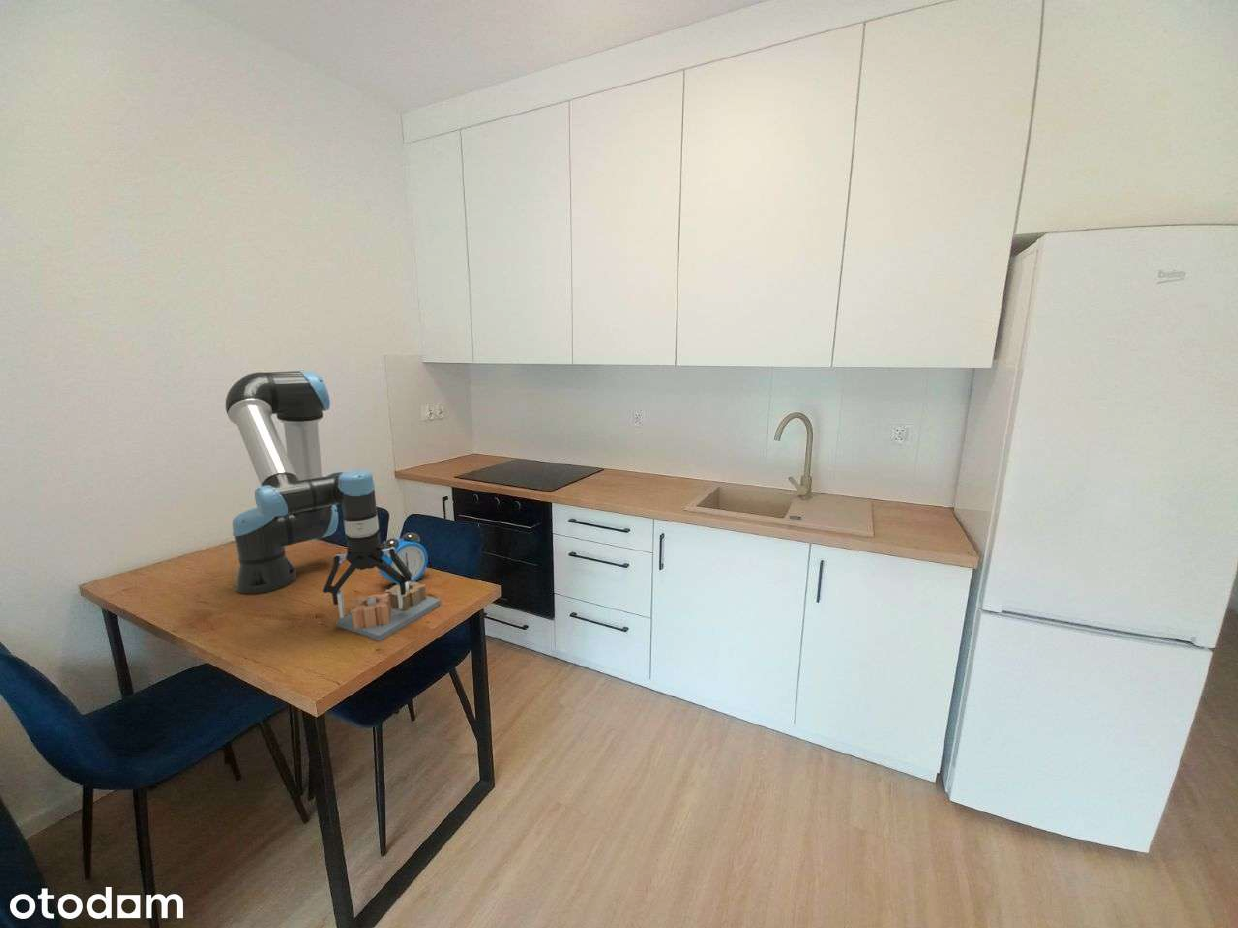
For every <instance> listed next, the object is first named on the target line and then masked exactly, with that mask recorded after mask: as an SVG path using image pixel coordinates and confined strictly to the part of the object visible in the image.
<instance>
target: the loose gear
mask: <svg viewBox="0 0 1238 928" xmlns="http://www.w3.org/2000/svg"><path fill="white" fill-rule="evenodd" d="M370 598H375V599H376V604H374V605H370V606H367V600H368V599H370ZM391 611H392V610H391V601H390V594H388V593H385V592H384V593H381V594H377V593H376V594H371V595H367V596H358V597H357V598H355V601H354V603H353V605H352V609H351V610H350V612H351V613H352V618H353V626H354V629H357V630H358V629H360V628H364V627H366V628H370V627H376V626H377V625H381V624H382V625H386V624H388V623H389V619H390V615H391V613H390V612H391Z"/></svg>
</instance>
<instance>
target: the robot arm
mask: <svg viewBox="0 0 1238 928" xmlns="http://www.w3.org/2000/svg"><path fill="white" fill-rule="evenodd" d="M330 403H331V402H330V395H329V393H328V389H327V386H326V384H325V382H324V380H323V378H322V377H321V376H320V375H319V374H318V373H317V372H315V371H301V370H299V371H275V372H273V371H272V372H270V371H269V372H253V373H249V374H247V375H244V376H243V377H241V378H240V379H238V380H237V381H236V382H235V383H233V385H232V386H231V388H230V389H229V391H228V392H227V396H226V399H225V411H226V414H227V416H228V419H229V420H230V421H231V423H233V424H234V425H235V426H237V428H238V429H237V430H238V431H239V434H240V436H241V439H242V442H243V444H244V446H245V449H246V452H247V454H248V456H249V459H250V461H251V464H252V466H253V468H254V471H255V474H256V476H257V479H258V481H259V483H260V486H259V487H257V488H255V491H254V499H255V500H254V501H255V504H256V507H255V508H251V509H248V510H246V511H243V512H241V513H240V514H238V515H236V516H235V517H234V518H233V520H232V530H233V532H232V535H233V536H234V539H235V540H234V541H235V546H236V551H237V552H236V553H237V557H238V563H239V566H238V571H237V573H236V574H237V575H236V580H235V589H236V591H237V593H239V594H243V595H256V594H263V593H269V592H273V591H276V590H279V589H281V588H285V587H286V586H288V585H290V584H292V583H293V582H294V581H295V580H296V579H297V571H296V569H295V567H294V565H293V564H292V562H291V560H290V559H289V558H288V557H289V556H288V555H287V553H286V552H287V551H286V547H288V546H293V545H296V544H297V545H298V544H301V543H305V542H309V541H314V540H320V539H323V538H326V537H329V536H332V535H333V534H334V533H336V530H337V529H338V524H339V513H338V507H337V505H341V509H342V517H343V518H342V519H343V527H344V532H345V536H346V537H345V540H346V541H345V542H346V547H347V548H346V549H347V553H341V552H337V553H335V555H334V557H333V566H332V568H331V570H330V573H329V575H328V578H327V579H326V582H325V584H324V587H323V589H322V593H324V594H327V593H328V594H329V593H330V594H331V597H332V602H333V605H334V606H338V612H339V619H341V618H344V617H345V616H346V605H345V599H344V591H343V590H344V589H342V586H343V585H344V584H345V582H346V581H347V580H348V579H349V578H350V576H351V575H352V574H353V573H354V572H355V570H356V569H357V570H359V571H363V570H367V569H369V570H370V569H371V570H372V569H374V568H375V567H376V568H377V569H378V570H379V569H381V570H383V571H384V572H385V573H386V574H388V575H389V576H390V577H392V578H393V579H394V580H395V581H397V584H396V585H397V595H398V604H399V609H401V608H402V607H403V599H402V595H405V593H406V585H405V583H406V582H407V581H411V579H412V574H411V572H410V571H409V570H408V568H407V567H406V566H405V564H404V563H403V561H402V560H401V559H400V557H399V556H398V555H397V553H396V549H395V547H394V546H391V547H390V548H389V549H384V550H383V549H382V542H381V533H380V531H379V530H380V524H379V517H378V509H377V499H376V491H375V490H376V484H375V482H374V479H373V478H374V477H373V473H371V472H370V471H368V470H358V469H357V470H350V471H346V472H345V471H334V472H331V473H329V474H327V475H326V476H323V470H322V469H323V468H322V455H321V445H320V444H321V443H320V433H319V422H320V421H321V420H322V419H323V418H324V412H325V411H328V410H329V409H330ZM272 415H276V418H277V420H278V421H280V422H281V423H283V428H284V437H285V438H284V439H285V446H286V448H285V446H284V444H283V442H282V440H281V437H280V435H279V432H278V431H277V429H276V427H275V424H274V422H273V420H272ZM384 554H386V555H387V556H388V557H391V560H392V561H393V562H394V564H395V565H396V566H397V568H398V569H399V570H400V572H401V573H402V574H403V575H401V574H400V573H399V572H397V571H396V570H395V569H394V568H392V567H391V566H390V565H389V564H387V563H386V562H385V560H383V559H382V557H383V555H384ZM345 560H347V561H348V563H350V564H349V566H348V568H347V569H346V571H345V572H344V573H343V574H342V576H340V578H339V579H338V581H336V584H335V585H332V584H333V582H334V580H335V577H336V574H337V573H338V570H339V568H340V565H341V564H343V563H344V562H345Z"/></svg>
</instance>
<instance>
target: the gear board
mask: <svg viewBox="0 0 1238 928" xmlns="http://www.w3.org/2000/svg"><path fill="white" fill-rule="evenodd" d="M405 585H406V593H405V595H402V599H403V607H402V608H401V609H399V604H398V595H397V584H395V585H393V586H391V587H390V588H389V589H385V591H384V594H385V593H388V594H390V601H391V610H392V611H391V612H390V613H391V615H390V619H389V623H388V624H386V625H382V624H381V625H377V626H376V627H370V628H366V627H364V628H360V629H358V630H357V629H354V626H353V618H352V612H351V613H349V614H347V615H344V618H339V619H337V620H336V621H335V623H336V627H338V628H341V629H343V630H347V631H349V632H351V633H355V634H358V635H360V636H364V637H366V638H369V639H372V640H374V641H377V642H381V641H383V640H384V639H386V638H388V637H389V636H391V635H392V634H395V633H396V632H398V631H400V630H401V629H403V628H404V627H406V626H408V625H410V624H411V623H413V622H415V621H416V620H418V619H420V618H421V617H422V618H423V616H425V615H426V614H429V612H432V611H433V610H435V609H437V608H438V607H440V606H441V605H442V599H439V598H437V597H434V596H433V597H432V596H429V595H427V592H426V584H425V583H423V584H421V583H420V582H417V581H413V582H411V581H410V582H409V581H407V582H406V583H405ZM374 604H376V599H375V598H370V599H368V600H367V606H370V605H374Z"/></svg>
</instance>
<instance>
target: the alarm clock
mask: <svg viewBox="0 0 1238 928" xmlns="http://www.w3.org/2000/svg"><path fill="white" fill-rule="evenodd" d="M420 541H421V539H420V536H419V535H418V534H417V533H416V532H414V531H413V532H407V533H405V534H404V535H403V536H402V537H399V538H398V539H397V538H394V537H393V538H392V537H391V538H388V539H386V540H385V541H383V543H382V544H381V547H382V549H383V550H384V549H389V548H390V547H391V546H394V547H395V549H396V553H397V555H398V556H399V557H400V559H401V560H402V561H403V563H404V564H405V566H406V567H407V568H408V570H409V571H410V572H411V574H412V579H411V582H413V581H414V582H417V580H420V578H421V576H423V574H424V573H425V570H426V568H427V566H428V560H429V558H428V552H427V550H426V549H425V547H424V546H423V545H421V544H420ZM382 559H383V560H385V562H386V563H387V564H389V565H390V566H391V567H392V568H394V569H395V570H396V571H397V572H399V573H400V574H401V575H403V574H402V573H401V572H400V570H399V569H398V568H397V566H396V565H395V564H394V562H393V561H392V560H391V557H388V556H387V555H386V554H384V555H383V557H382ZM378 571H379V573H380V574H381V576H382V577H383V578H384V579H386V580H387V581H390V582H391V583H394V584H395V585H397V581H395V580H394V579H393V578H392V577H390V576H389V575H388V574H386V573H385V572H384V571H383V570H381V569H379V568H378ZM409 582H410V581H409Z"/></svg>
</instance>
